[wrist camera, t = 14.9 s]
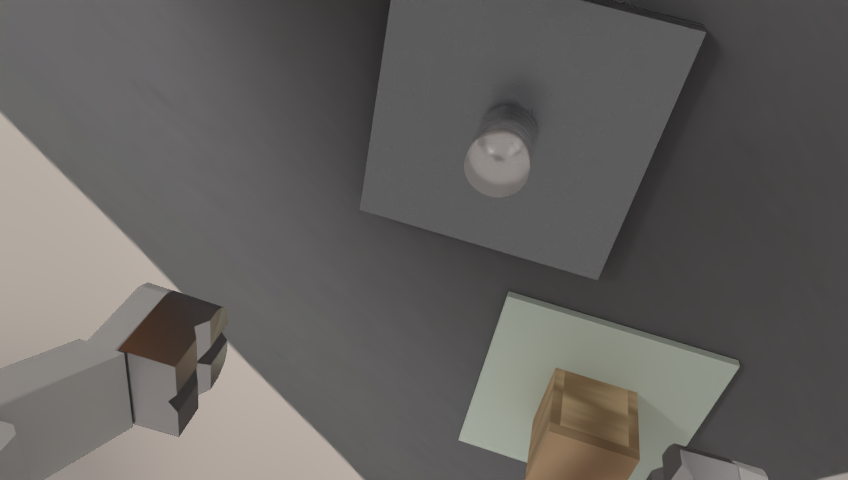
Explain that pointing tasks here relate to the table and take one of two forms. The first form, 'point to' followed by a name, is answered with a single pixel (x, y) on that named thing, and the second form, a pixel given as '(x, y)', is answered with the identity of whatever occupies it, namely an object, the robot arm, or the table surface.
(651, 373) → the sage mat
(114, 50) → the table surface
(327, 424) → the table surface
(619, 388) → the oak block
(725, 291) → the table surface
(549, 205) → the post mount
